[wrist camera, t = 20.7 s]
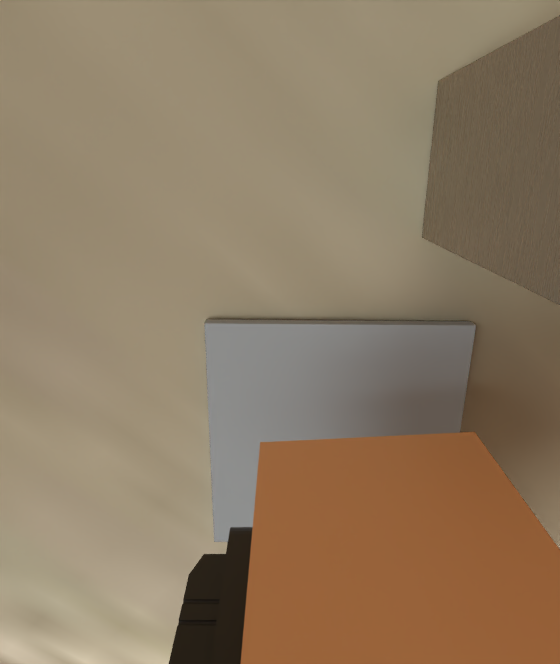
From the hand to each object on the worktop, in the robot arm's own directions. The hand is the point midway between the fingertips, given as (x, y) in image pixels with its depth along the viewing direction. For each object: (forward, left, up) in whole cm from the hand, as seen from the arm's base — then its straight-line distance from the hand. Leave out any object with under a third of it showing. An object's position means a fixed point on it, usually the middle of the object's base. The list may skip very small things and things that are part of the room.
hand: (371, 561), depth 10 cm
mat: (0, -1, -6) cm, 6 cm away
